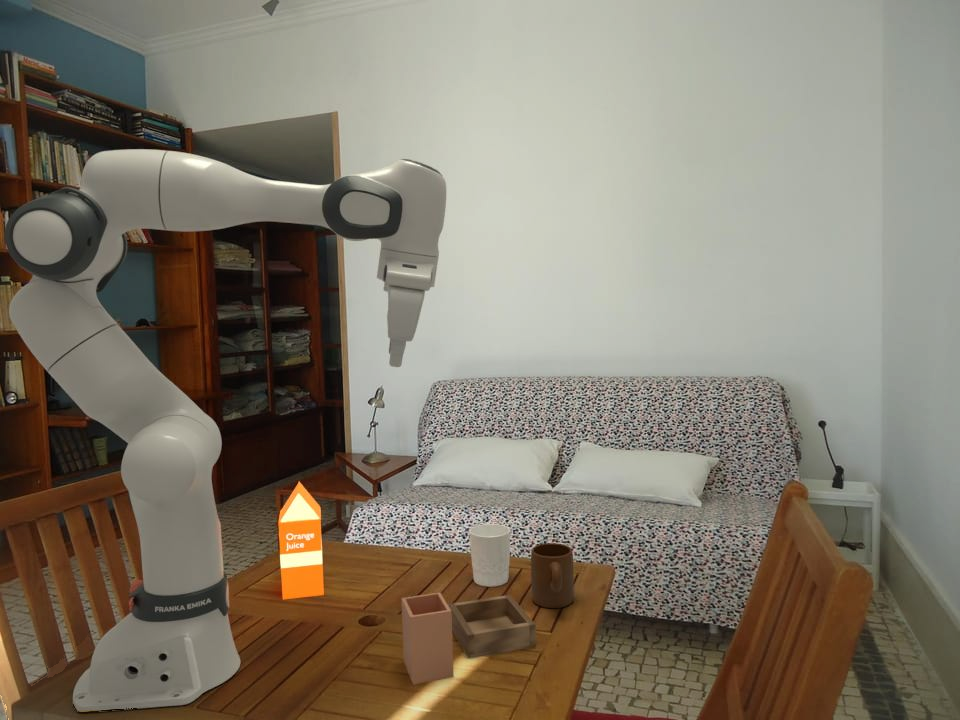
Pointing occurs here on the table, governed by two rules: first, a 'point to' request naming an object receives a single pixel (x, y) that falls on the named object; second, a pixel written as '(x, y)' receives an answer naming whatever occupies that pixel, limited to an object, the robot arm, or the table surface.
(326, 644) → the table surface
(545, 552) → the mug
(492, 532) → the white cup
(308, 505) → the orange juice
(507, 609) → the large crate
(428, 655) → the pink square pot
